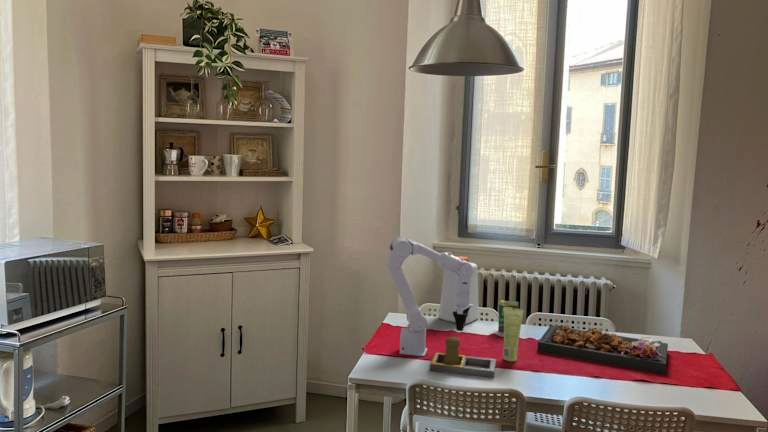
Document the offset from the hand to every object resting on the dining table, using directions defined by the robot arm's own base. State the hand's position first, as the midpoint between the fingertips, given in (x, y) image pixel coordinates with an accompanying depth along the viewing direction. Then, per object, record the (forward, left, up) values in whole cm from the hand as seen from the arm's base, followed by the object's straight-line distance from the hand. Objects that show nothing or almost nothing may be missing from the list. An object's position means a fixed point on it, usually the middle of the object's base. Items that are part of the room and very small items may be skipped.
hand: (460, 327), depth 236 cm
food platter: (+54, +16, -10) cm, 57 cm away
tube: (+19, -3, -10) cm, 21 cm away
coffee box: (+17, +30, -10) cm, 36 cm away
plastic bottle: (-5, +42, -10) cm, 43 cm away
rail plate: (+3, -17, -9) cm, 20 cm away
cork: (-1, -17, -10) cm, 20 cm away
